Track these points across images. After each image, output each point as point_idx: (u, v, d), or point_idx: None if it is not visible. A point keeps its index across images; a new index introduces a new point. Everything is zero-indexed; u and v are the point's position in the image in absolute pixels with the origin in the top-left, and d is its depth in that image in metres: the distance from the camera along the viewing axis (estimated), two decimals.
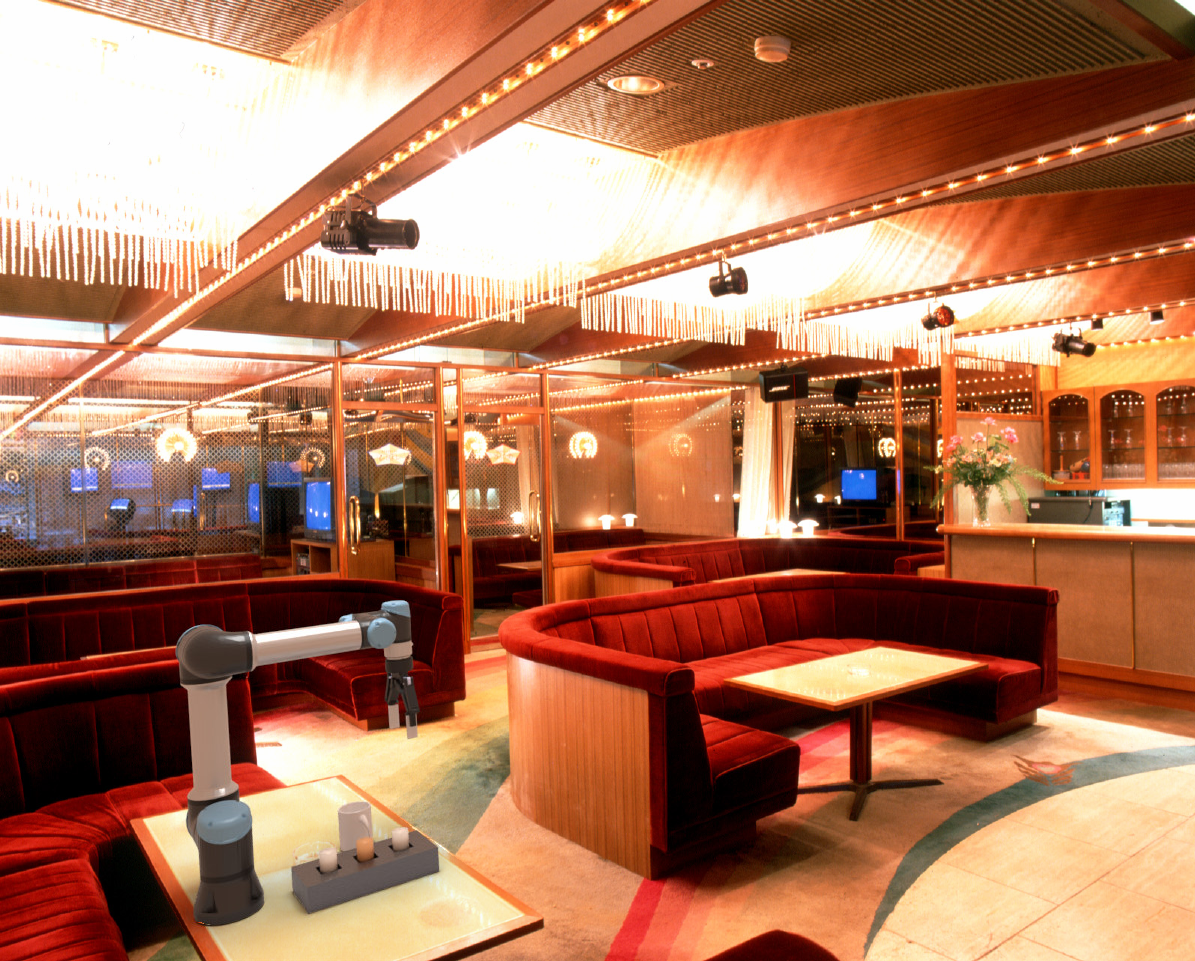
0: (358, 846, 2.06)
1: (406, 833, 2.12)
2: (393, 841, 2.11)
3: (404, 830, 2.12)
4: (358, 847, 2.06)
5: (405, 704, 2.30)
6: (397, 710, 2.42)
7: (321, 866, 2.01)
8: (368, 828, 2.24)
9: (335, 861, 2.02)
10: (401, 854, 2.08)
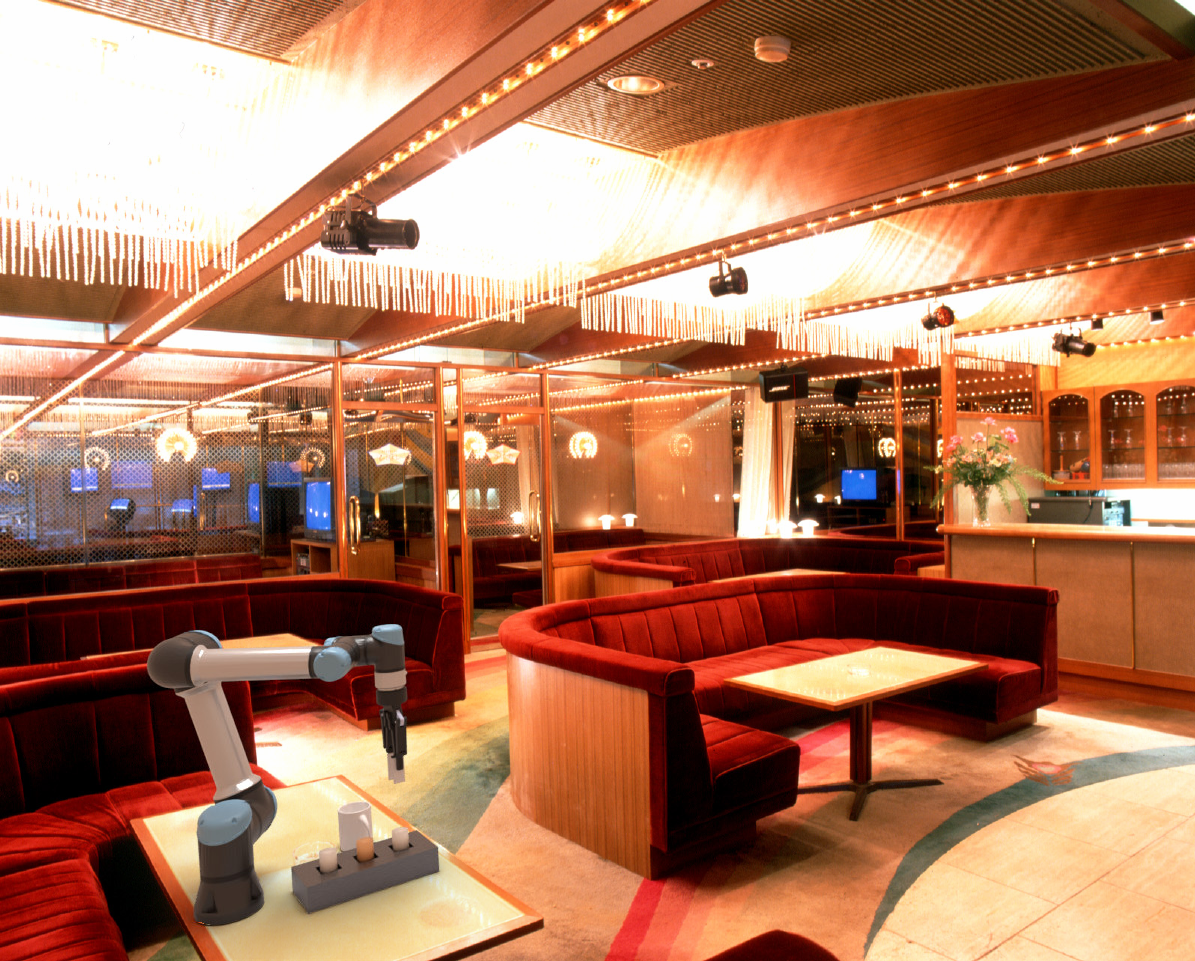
0: (358, 846, 2.06)
1: (406, 833, 2.12)
2: (393, 841, 2.11)
3: (404, 830, 2.12)
4: (358, 847, 2.06)
5: (393, 745, 2.10)
6: None
7: (321, 866, 2.01)
8: (368, 828, 2.24)
9: (335, 861, 2.02)
10: (401, 854, 2.08)
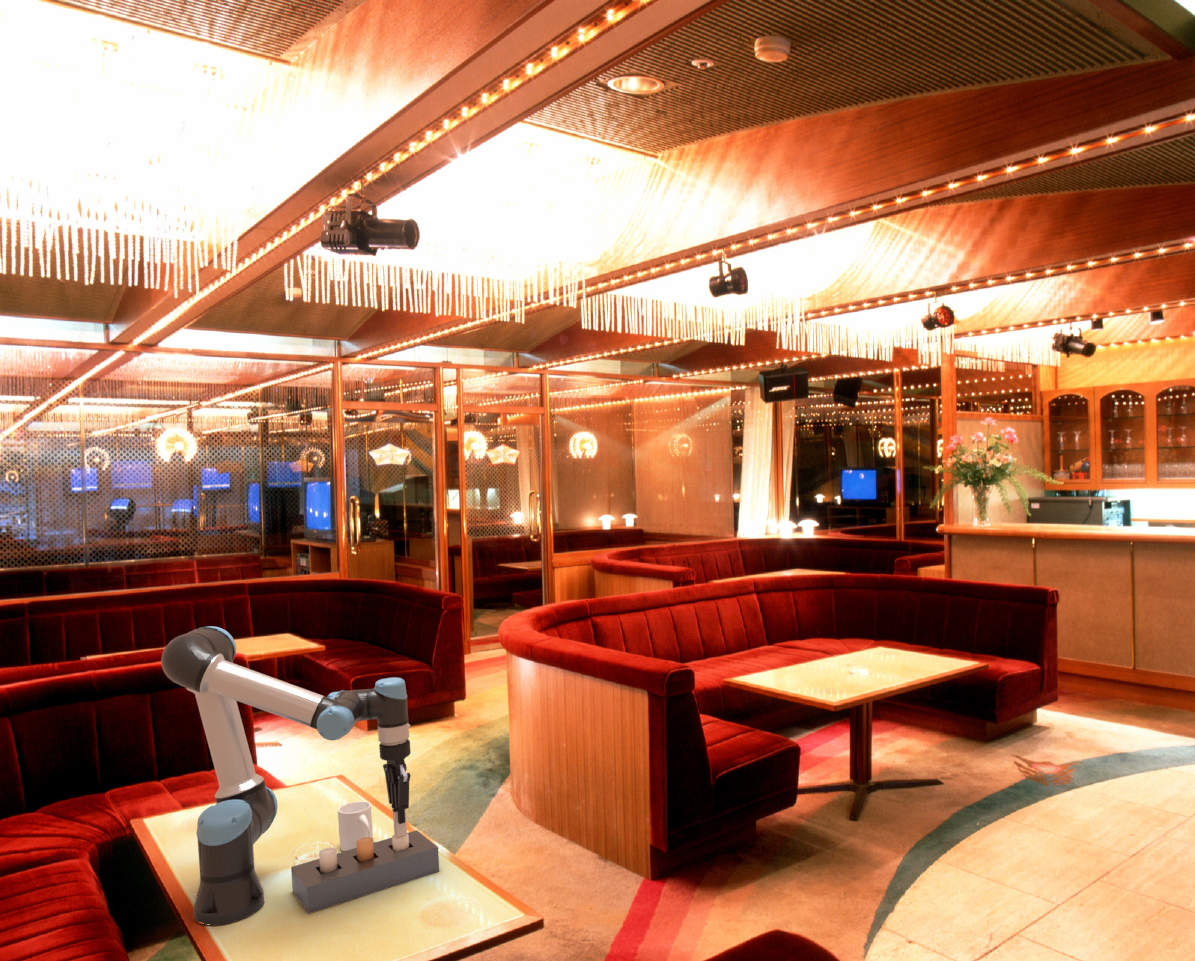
0: (358, 846, 2.06)
1: (406, 839, 2.12)
2: (393, 847, 2.11)
3: (404, 836, 2.12)
4: (358, 847, 2.06)
5: (395, 798, 2.11)
6: None
7: (321, 866, 2.01)
8: (368, 828, 2.24)
9: (335, 861, 2.02)
10: (401, 854, 2.08)
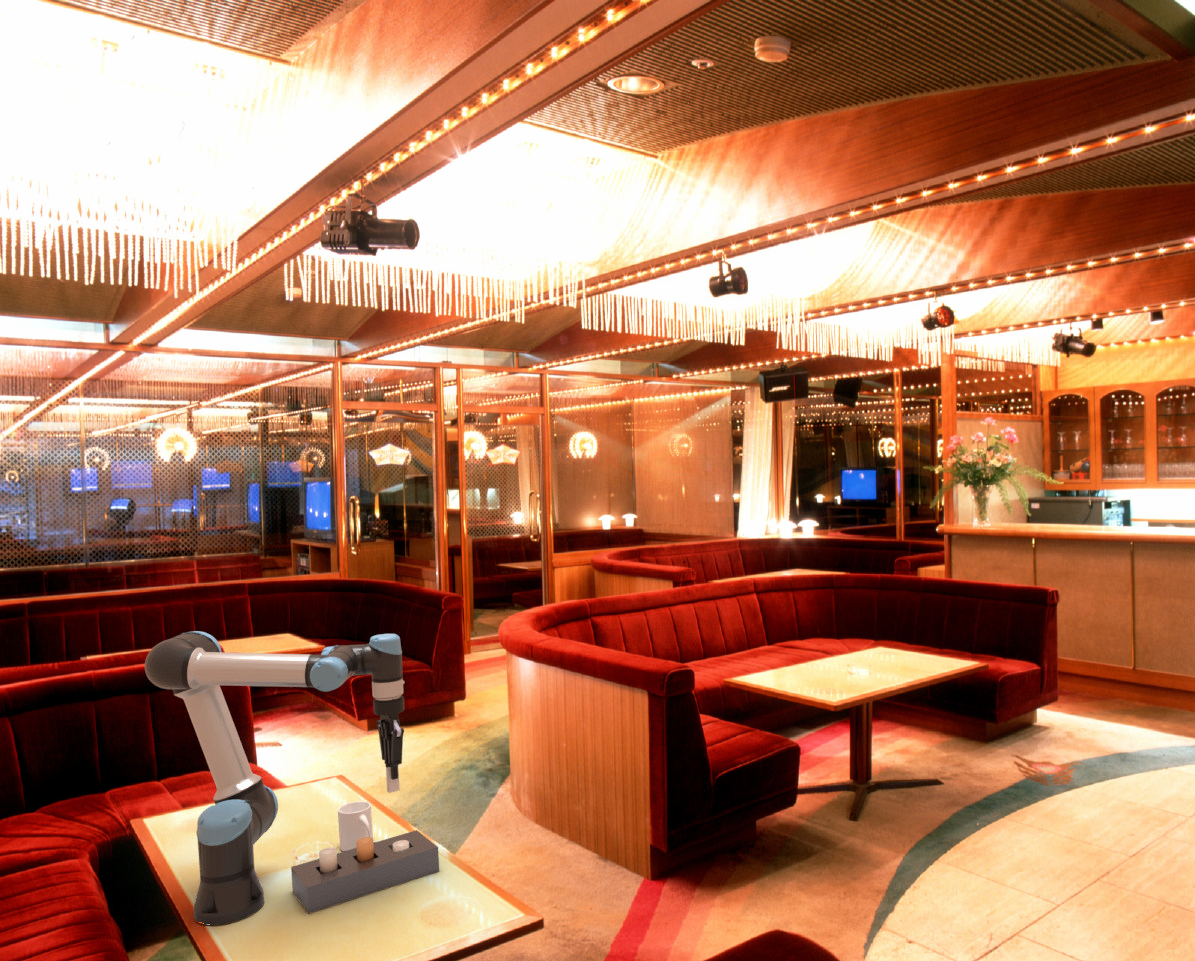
0: (358, 846, 2.06)
1: (407, 846, 2.12)
2: None
3: (405, 843, 2.12)
4: (358, 847, 2.06)
5: (388, 754, 2.10)
6: None
7: (321, 866, 2.01)
8: (368, 828, 2.24)
9: (335, 861, 2.02)
10: (401, 854, 2.08)
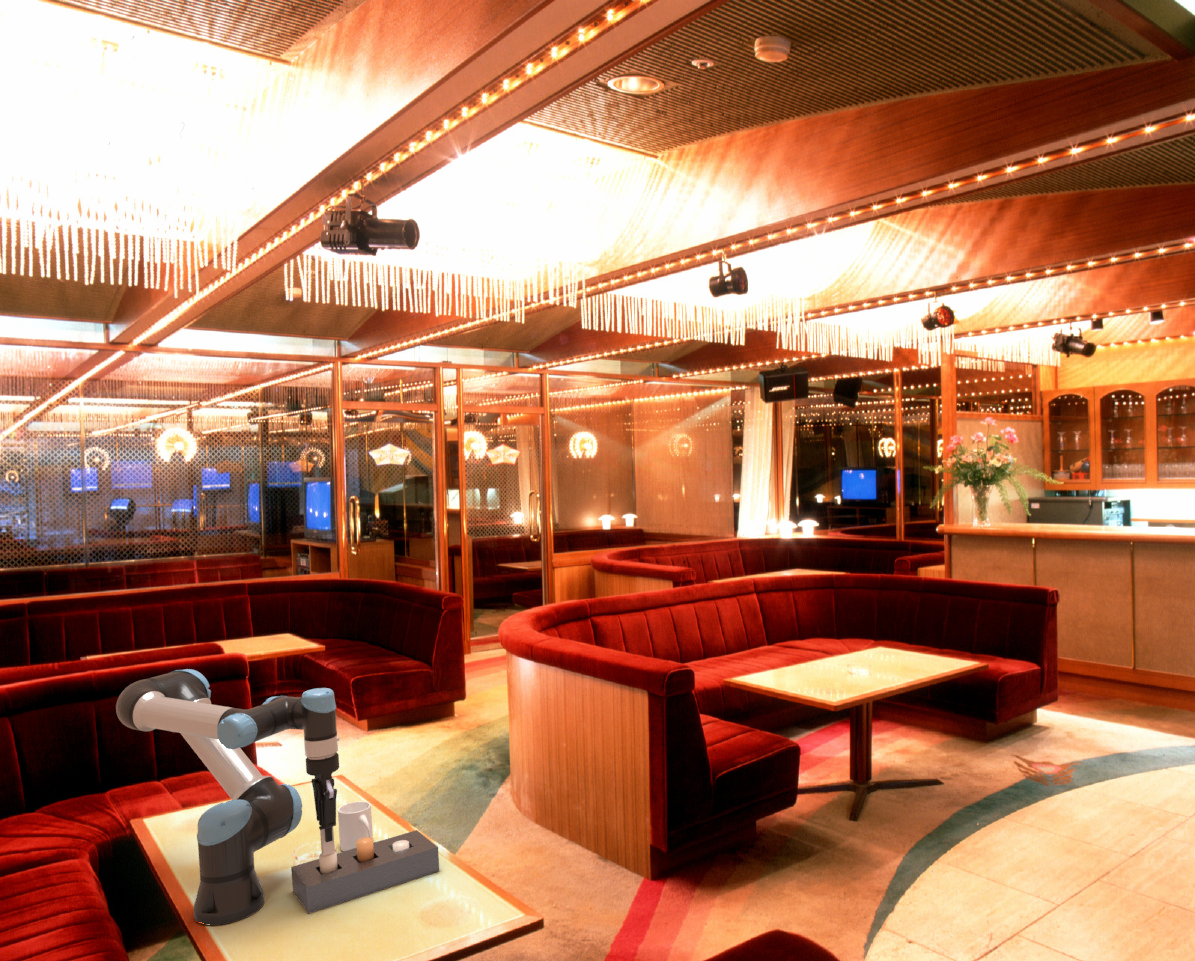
0: (358, 846, 2.06)
1: (407, 846, 2.12)
2: None
3: (405, 843, 2.12)
4: (358, 847, 2.06)
5: (322, 815, 2.01)
6: None
7: (321, 869, 2.01)
8: (368, 828, 2.24)
9: (335, 864, 2.02)
10: (401, 854, 2.08)
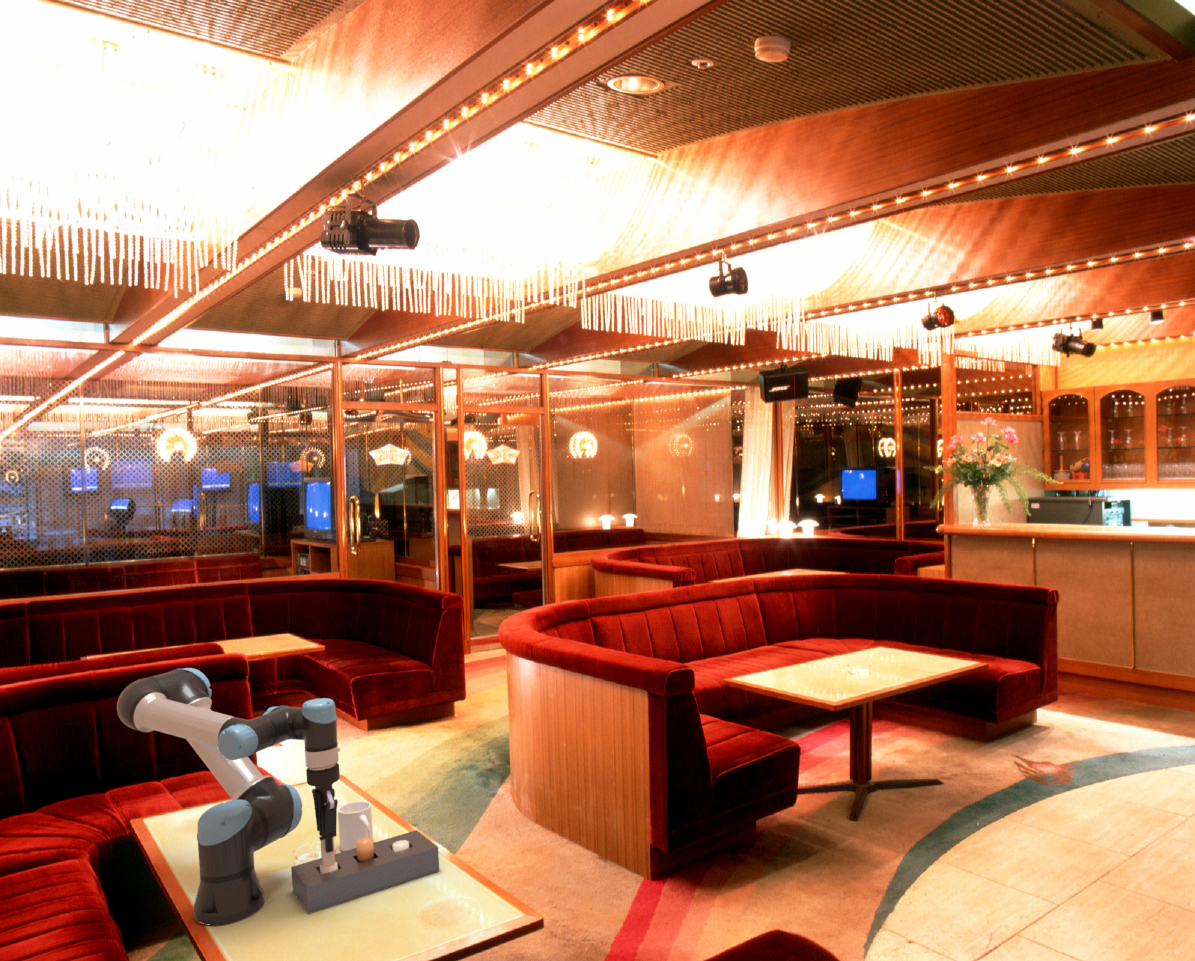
0: (358, 846, 2.06)
1: (407, 846, 2.12)
2: None
3: (405, 843, 2.12)
4: (358, 847, 2.06)
5: (322, 826, 2.01)
6: None
7: None
8: (368, 828, 2.24)
9: None
10: (401, 854, 2.08)
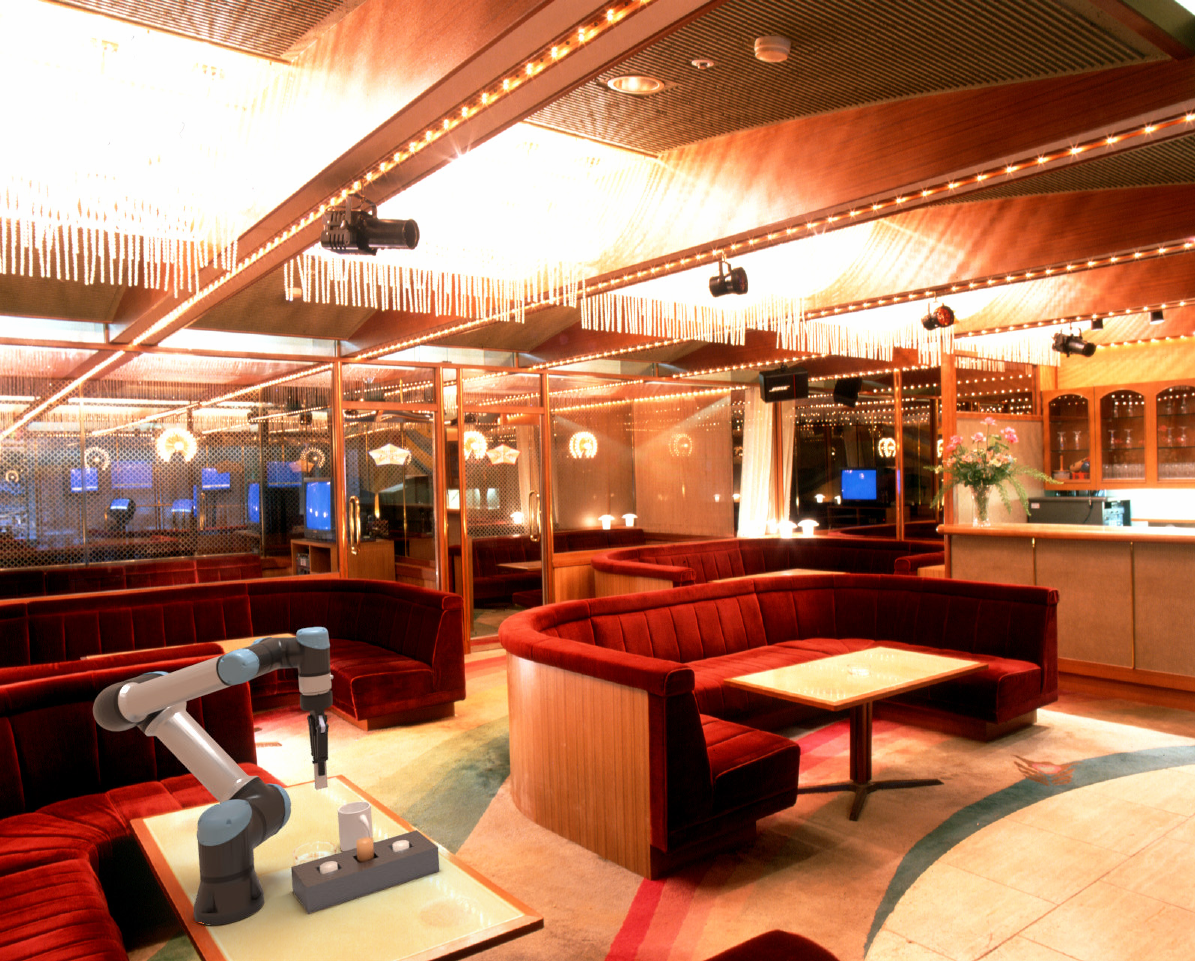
0: (358, 846, 2.06)
1: (407, 846, 2.12)
2: None
3: (405, 843, 2.12)
4: (358, 847, 2.06)
5: (315, 750, 2.06)
6: None
7: None
8: (368, 828, 2.24)
9: None
10: (401, 854, 2.08)
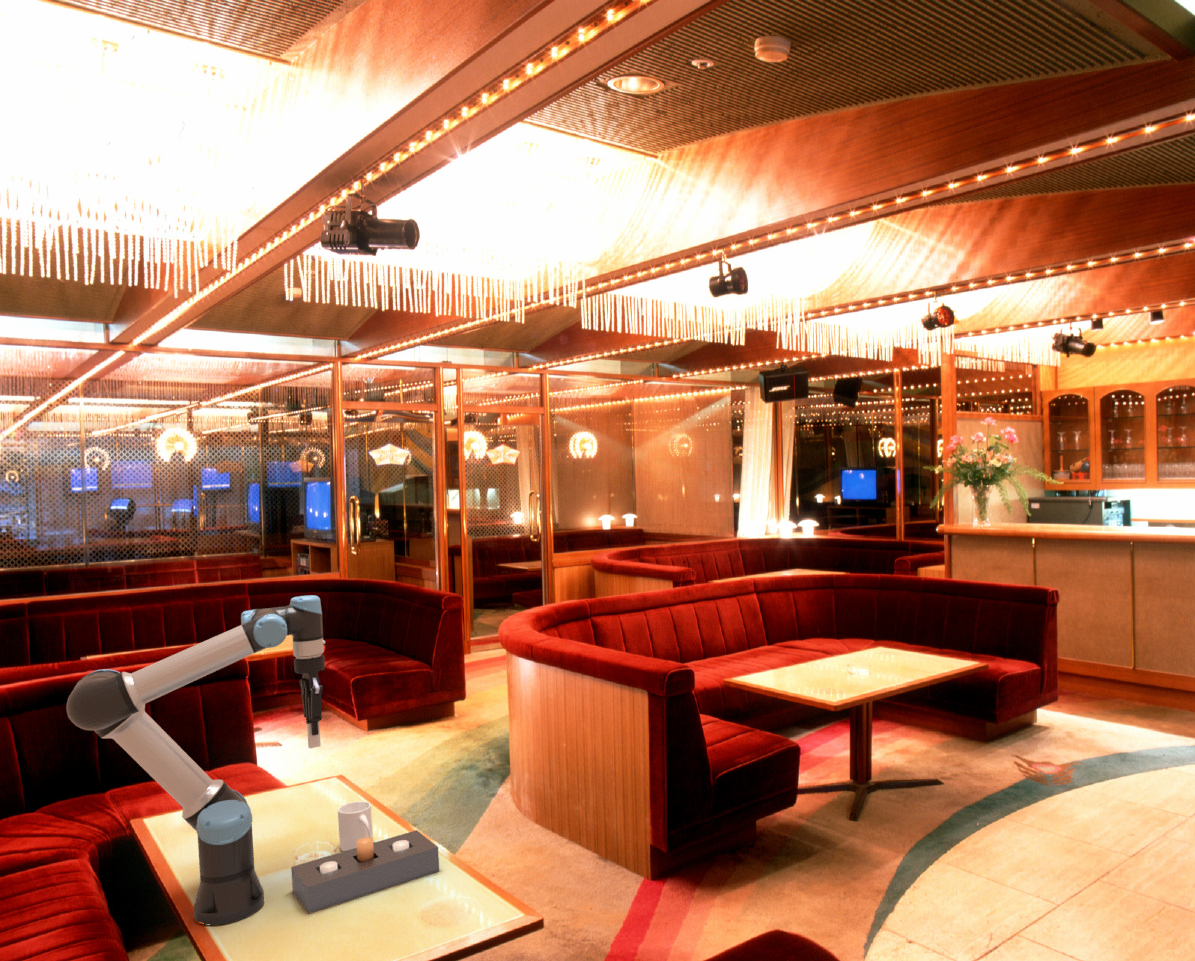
0: (358, 846, 2.06)
1: (407, 846, 2.12)
2: None
3: (405, 843, 2.12)
4: (358, 847, 2.06)
5: (309, 711, 2.18)
6: None
7: None
8: (368, 828, 2.24)
9: None
10: (401, 854, 2.08)
